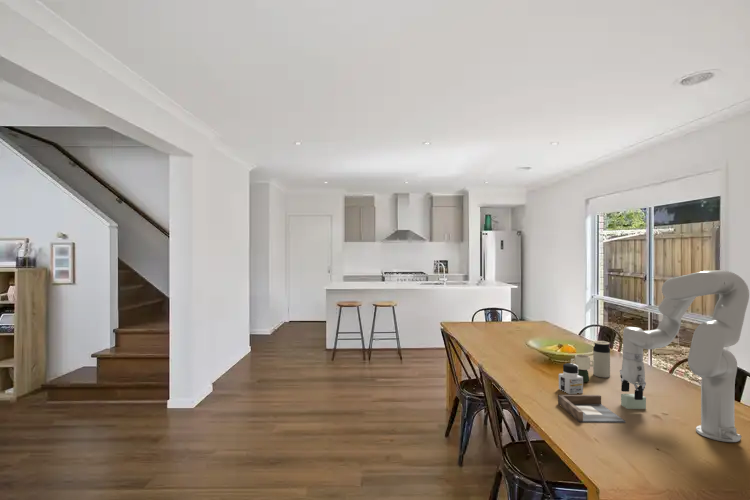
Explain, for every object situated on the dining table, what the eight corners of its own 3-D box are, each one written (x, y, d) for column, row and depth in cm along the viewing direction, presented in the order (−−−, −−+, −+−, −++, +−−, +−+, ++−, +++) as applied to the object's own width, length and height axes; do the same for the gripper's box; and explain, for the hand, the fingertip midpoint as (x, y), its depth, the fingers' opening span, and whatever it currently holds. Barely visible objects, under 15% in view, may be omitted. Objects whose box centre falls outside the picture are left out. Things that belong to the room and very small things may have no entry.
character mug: (592, 380, 222) (592, 355, 222) (595, 384, 215) (595, 358, 215) (569, 378, 225) (569, 353, 225) (571, 382, 218) (571, 356, 218)
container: (569, 394, 199) (569, 366, 199) (558, 389, 207) (558, 362, 207) (583, 393, 201) (583, 365, 201) (571, 388, 209) (571, 361, 209)
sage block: (646, 409, 181) (645, 397, 181) (627, 409, 181) (627, 397, 181) (639, 405, 186) (639, 393, 186) (621, 405, 186) (621, 393, 186)
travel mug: (613, 377, 225) (613, 343, 225) (597, 377, 226) (597, 343, 226) (605, 373, 233) (605, 340, 233) (590, 373, 234) (590, 340, 234)
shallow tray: (625, 422, 167) (625, 412, 167) (579, 422, 167) (579, 412, 167) (599, 404, 187) (599, 395, 187) (558, 403, 187) (558, 394, 187)
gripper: (654, 361, 175) (653, 403, 176) (629, 351, 192) (628, 388, 193) (636, 361, 175) (634, 402, 176) (613, 350, 193) (612, 388, 193)
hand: (631, 395), depth 184 cm, fingers open, 9 cm apart
